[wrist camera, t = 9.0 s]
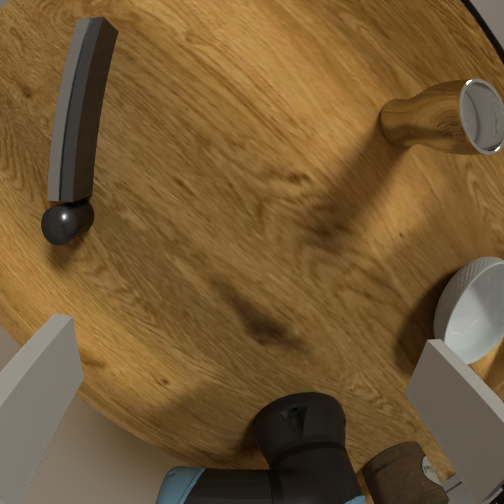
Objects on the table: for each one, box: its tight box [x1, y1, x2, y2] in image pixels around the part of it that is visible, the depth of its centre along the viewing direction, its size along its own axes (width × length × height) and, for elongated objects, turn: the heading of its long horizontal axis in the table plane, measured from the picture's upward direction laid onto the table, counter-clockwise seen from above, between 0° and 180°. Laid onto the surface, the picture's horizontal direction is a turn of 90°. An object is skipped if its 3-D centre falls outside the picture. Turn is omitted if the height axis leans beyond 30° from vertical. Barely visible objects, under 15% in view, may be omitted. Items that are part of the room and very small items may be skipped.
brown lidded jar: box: [363, 442, 449, 504], centre depth 43 cm, size 15×15×22 cm
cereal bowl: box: [434, 257, 504, 365], centre depth 37 cm, size 17×17×7 cm
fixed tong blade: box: [41, 17, 118, 245], centre depth 27 cm, size 24×4×6 cm, turn 171°
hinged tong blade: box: [47, 17, 91, 201], centre depth 26 cm, size 20×2×5 cm, turn 171°
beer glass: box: [380, 78, 504, 155], centre depth 25 cm, size 7×7×15 cm
